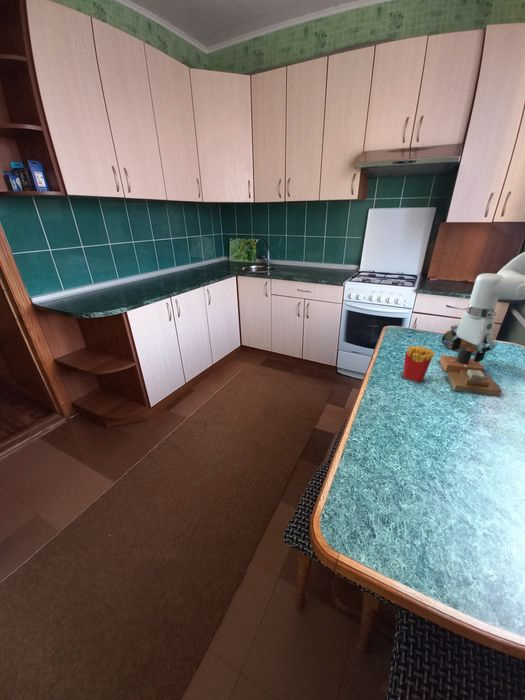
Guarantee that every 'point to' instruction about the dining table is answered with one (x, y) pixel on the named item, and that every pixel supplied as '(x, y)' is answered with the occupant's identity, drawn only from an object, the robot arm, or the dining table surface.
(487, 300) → the robot arm
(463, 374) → the stepped nested square plaque
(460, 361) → the volume knob
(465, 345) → the tin
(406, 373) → the french fries
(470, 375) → the key
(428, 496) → the dining table surface
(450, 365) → the volume box
